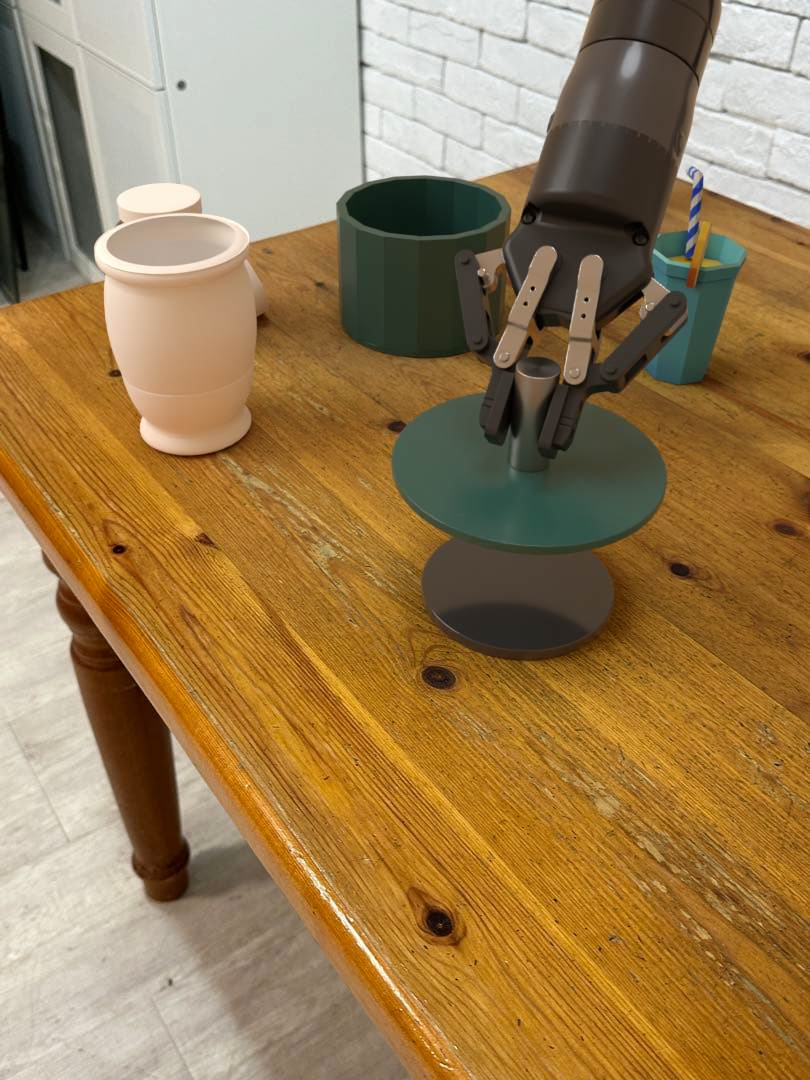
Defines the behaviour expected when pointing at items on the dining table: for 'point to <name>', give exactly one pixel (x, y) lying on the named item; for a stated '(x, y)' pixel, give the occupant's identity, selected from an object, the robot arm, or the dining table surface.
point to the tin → (414, 260)
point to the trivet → (516, 599)
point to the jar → (182, 326)
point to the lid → (529, 473)
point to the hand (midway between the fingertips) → (519, 446)
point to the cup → (694, 290)
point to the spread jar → (175, 201)
